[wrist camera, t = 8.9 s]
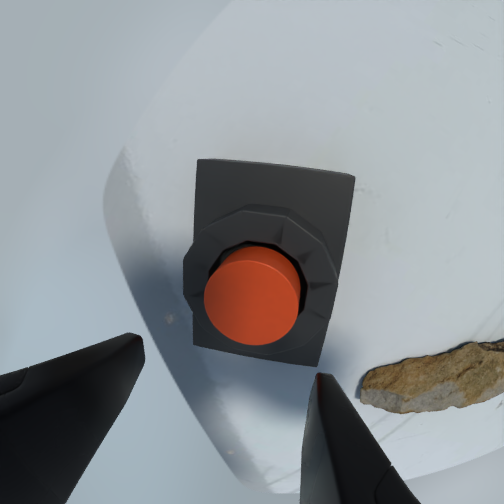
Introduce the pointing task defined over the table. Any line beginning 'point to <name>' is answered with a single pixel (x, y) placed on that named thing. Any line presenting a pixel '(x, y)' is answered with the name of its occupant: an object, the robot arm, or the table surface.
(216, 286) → the bell button
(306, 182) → the black button base
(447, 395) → the stone
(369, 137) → the table surface
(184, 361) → the table surface
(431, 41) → the table surface
